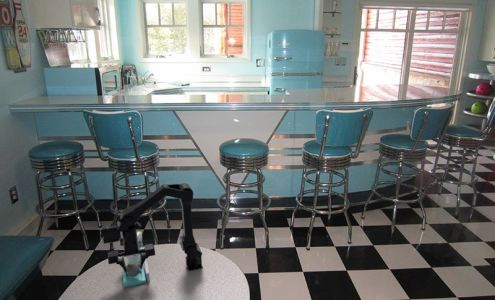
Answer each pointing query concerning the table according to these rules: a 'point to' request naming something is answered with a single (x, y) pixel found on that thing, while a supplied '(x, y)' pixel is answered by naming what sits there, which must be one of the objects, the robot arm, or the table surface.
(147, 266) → the gray flat board
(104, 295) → the table surface
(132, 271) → the ball
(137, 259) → the syrup box
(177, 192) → the robot arm
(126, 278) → the coaster
